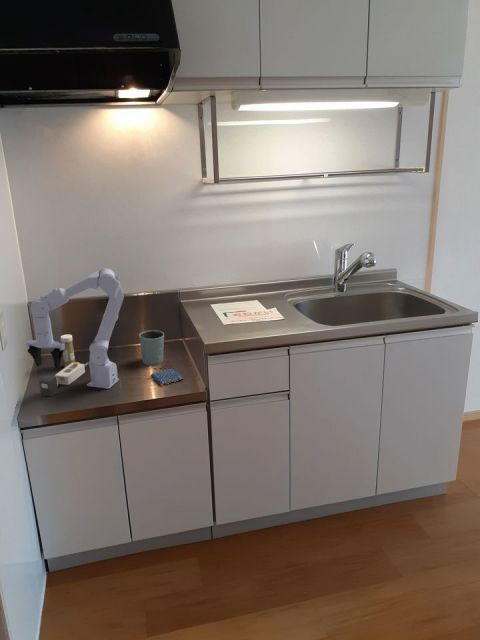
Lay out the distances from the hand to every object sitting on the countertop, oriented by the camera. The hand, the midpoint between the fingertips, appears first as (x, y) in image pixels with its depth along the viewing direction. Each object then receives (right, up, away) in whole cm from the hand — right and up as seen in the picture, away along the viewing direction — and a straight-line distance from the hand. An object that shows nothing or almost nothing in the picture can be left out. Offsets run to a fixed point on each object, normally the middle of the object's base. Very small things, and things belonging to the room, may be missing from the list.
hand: (48, 366), depth 189 cm
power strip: (+5, -4, +16) cm, 17 cm away
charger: (0, -10, 0) cm, 10 cm away
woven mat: (+42, -6, +11) cm, 44 cm away
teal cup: (+34, 0, +27) cm, 43 cm away
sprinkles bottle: (+1, -2, +22) cm, 22 cm away
